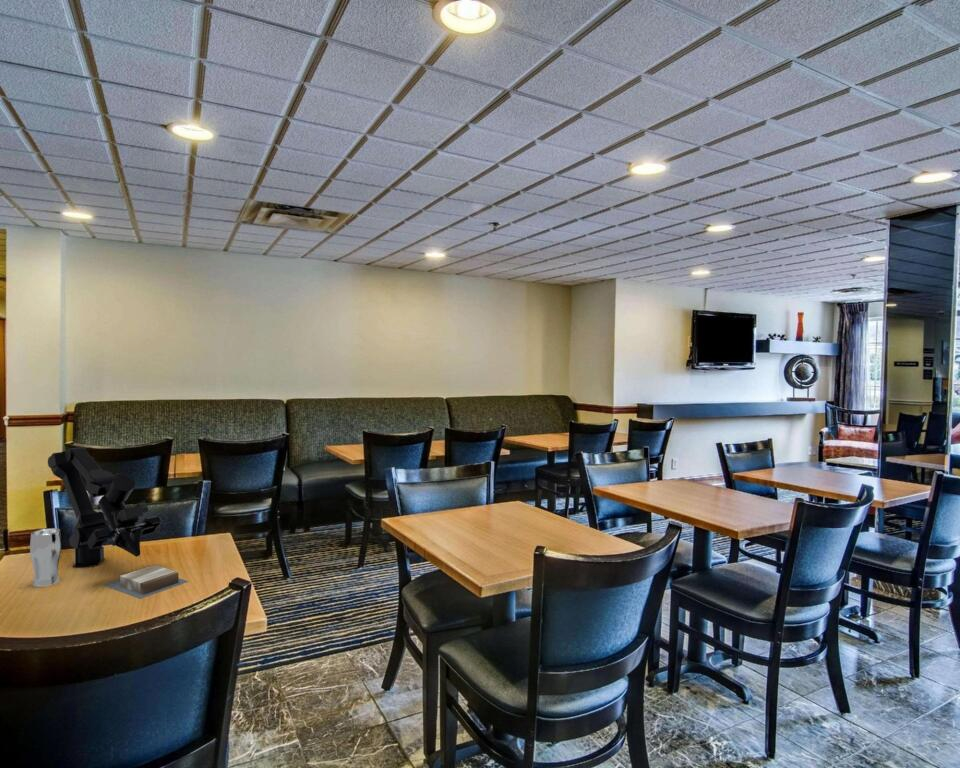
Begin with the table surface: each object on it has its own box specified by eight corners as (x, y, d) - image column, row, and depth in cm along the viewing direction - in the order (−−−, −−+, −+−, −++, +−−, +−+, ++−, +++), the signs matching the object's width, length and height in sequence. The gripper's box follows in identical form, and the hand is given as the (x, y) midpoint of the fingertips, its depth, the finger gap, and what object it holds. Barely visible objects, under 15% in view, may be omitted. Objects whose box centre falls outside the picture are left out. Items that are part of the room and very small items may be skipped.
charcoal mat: (102, 586, 161) (102, 584, 161) (151, 571, 173) (151, 569, 173) (140, 600, 152) (140, 598, 152) (189, 583, 164) (189, 581, 164)
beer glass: (67, 581, 164) (67, 529, 163) (41, 590, 157) (41, 536, 156) (50, 578, 166) (49, 526, 165) (24, 586, 159) (23, 533, 159)
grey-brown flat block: (119, 575, 160) (143, 584, 154) (155, 565, 168) (178, 572, 163) (119, 586, 160) (143, 595, 155) (155, 575, 169) (178, 582, 163)
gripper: (92, 501, 158) (115, 548, 153) (158, 489, 174) (181, 530, 169) (77, 525, 162) (99, 571, 157) (143, 511, 178) (165, 552, 173)
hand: (138, 555), depth 164 cm, fingers closed
